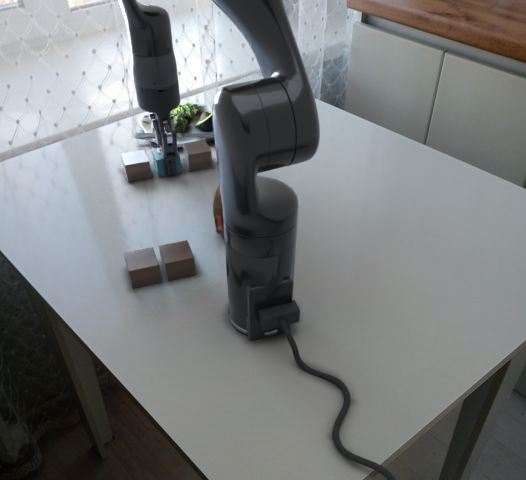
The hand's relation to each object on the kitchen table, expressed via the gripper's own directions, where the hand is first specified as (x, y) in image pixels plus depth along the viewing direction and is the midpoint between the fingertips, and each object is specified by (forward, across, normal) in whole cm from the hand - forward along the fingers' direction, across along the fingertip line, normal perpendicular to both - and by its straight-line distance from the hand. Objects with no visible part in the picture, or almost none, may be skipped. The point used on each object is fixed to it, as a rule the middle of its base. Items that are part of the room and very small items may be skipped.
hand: (168, 167), depth 108 cm
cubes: (0, 0, 0) cm, 0 cm away
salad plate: (+1, -14, +7) cm, 16 cm away
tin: (+1, +20, +7) cm, 21 cm away
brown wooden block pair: (0, +30, -8) cm, 31 cm away
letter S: (0, 0, 0) cm, 0 cm away
